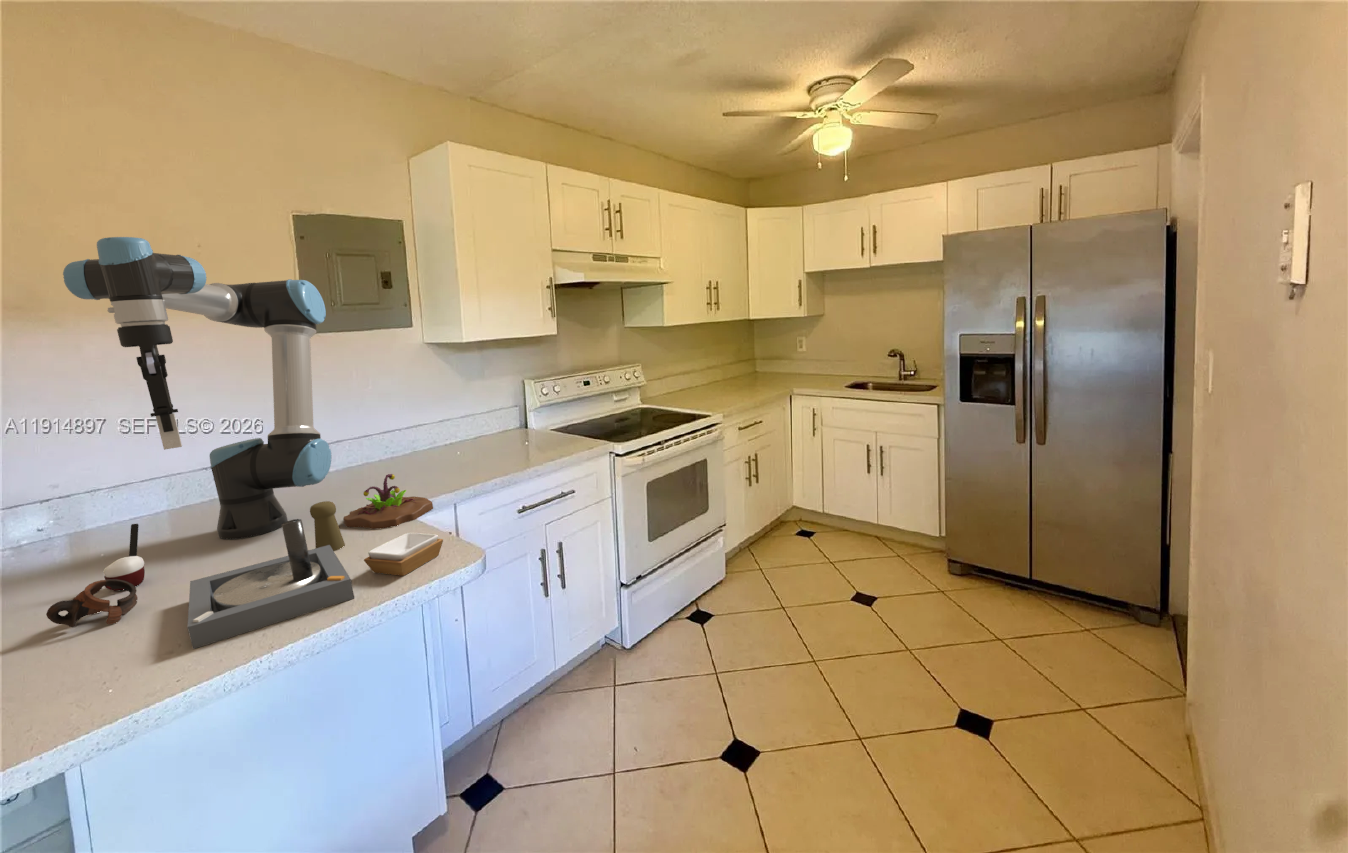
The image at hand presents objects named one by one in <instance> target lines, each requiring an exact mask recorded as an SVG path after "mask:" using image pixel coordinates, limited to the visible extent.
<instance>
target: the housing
mask: <svg viewBox="0 0 1348 853" xmlns="http://www.w3.org/2000/svg"><path fill="white" fill-rule="evenodd" d="M308 553H309V558H310V562H314V563H317V564H318V565H319V566H320V570H321V574H322V579H321V581H320V582H319V583H315V584H312V585H308V586H305V587H301V588H298V589H294V590H291V591H288V592H284V593H281V594H277V595H274V596H270V597H267V598H264V599H260V600H257V601H253V602H250V603H246V604H243V605H240V606H236V607H233V608H229V609H226V610H222V611H221V610H218V609H217V608H216V605H215V600H214V596H213V595H214V592H215V591H216V589H218V588H219V587H220V586H221V585H223V584H224V583H226V582H228V581H229V580H231V579H233V578H236V577H238V576H240V575H243V574H245V573H248V572H250V571H254V570H257V569H260V568H263V567H267V566H271V565H276V564H281V563H287V562H290V561H289V556H288V555H285V556H281V557H278V558H274V559H269V560H267V561H263V562H257V563H255V564H251V565H248V566H243V567H239V568H236V569H232V570H228V571H225V572H221V573H220V572H219V573H217V574H213V575H210V576H206V577H201V578H197V579H194V580H190V582H189V593H188V594H189V596H188V613H187V631H188V636H189V638H190V643H191V646H192V649H193V650H194V649H197V648H201V647H204V646H207V645H210V644H211V645H212V644H213V643H216V642H220V641H223V640H226V639H230V638H232V637H236V636H239V635H242V634H245V633H248V632H251V631H255V630H258V629H261V628H264V627H268V626H271V625H274V624H276V623H280V622H283V621H287V620H289V619H290V620H291V619H293V618H296V617H299V616H304V615H306V614H309V613H313V612H315V610H316V611H318V610H321V609H324V608H328V607H331V606H334V605H337V604H341V603H343V602H347V601H350V600H353V599H355V595H354V589H353V584H352V583H353V582H352V580H351V579H352V578H351V577H350V575H349V573H348V572H347V571H346V569H345V568H344V566H343V564H342V562H341V561H340V560H339V558H338V556H337V555H336V553H335V551H333V549H332V548H331V546H330V545H327V546H323V547H319V548H316V547H315V548H312V549H308Z"/></svg>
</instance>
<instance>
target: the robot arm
mask: <svg viewBox="0 0 1348 853" xmlns="http://www.w3.org/2000/svg"><path fill="white" fill-rule="evenodd" d="M96 250H97V254H98V255H97V256H98V258H97V259H96V258H95V259H89V258H87V259H83V260H77V261H71V262H69V263H68V264H66V265H65V267H64V269H63V272H62V275H63V282H64V284H65V287H66V288H67V290H68V291H69V292H70V293H71V294H72V295H73V296H75V297H77V298H79V299H81V300H96V301H100V300H105V299H106V300H109V301H110V305H111V306H112V307H111V306H109V307H107V312H108V313H110V314H113V318H114V322H115V323H116V324H117V325H120V326H119V327H118V328H117V329H116V332H117V336H118V338H119V343H120V346H121V347H123V348H133V347H135V348H136V347H137V348H139V351H140V356H136V358H135V359H136V362H137V365H138V367H140V371H141V375H142V379H143V380H145V382H146V385H147V389H148V393H149V396H150V401H151V403H152V404H151V405H152V408H153V409H152V413H151V412H150V417H155V418H156V424H157V427H158V431H159V435H160V440H161V443H162V447H163V450H170V449H177V448H182V446H183V444H182V440H181V436H180V435H181V434H180V431H179V428H178V424H177V419H176V416H175V413H179V410H178V408H174V405H173V402H172V400H171V399H172V398H171V396H170V390H169V386H168V381H167V378H168V376H169V375H168V371H167V367H166V363H167V359H166V355H165V354H160V352H159V348H158V345H159V346H162V345H171V344H173V343H174V340H173V335H172V331H171V327H170V325H168V324H166V322H167V321H169V317H168V312H167V310H173V311H179V312H185V313H190V314H196V315H201V316H204V317H205V318H206V319H208V320H210V321H213V322H216V323H217V322H218V323H221V324H222V323H223V324H229V325H234V326H239V327H240V326H241V327H245V328H246V327H247V328H256V329H257V328H259V329H260V328H261V329H262V328H263V329H264V332H265V333H266V334H267V335H269V336H270V337H271V360H272V363H271V364H272V366H271V367H272V385H273V386H272V391H273V392H272V393H273V422H274V423H273V424H274V425H273V426H274V428H273V430H272V431H270V432H269V433H268V434H267V443H265V441H263V438H261V437H258V438H251V439H245V440H241V441H237V442H233V443H229V444H226V445H223V446H220V447H216V448H214V449H212V450H211V452H209V462H210V467H209V468H210V469H211V473H212V476H213V480H214V483H215V489H216V493H217V498H218V501H219V506H220V507H219V508H220V509H219V515H218V519H217V520H218V521H217V527H216V531H217V535H218V538H220V539H221V540H239V539H245V538H251V537H254V536H261V535H263V534H266V533H270V532H273V531H276V530H279V529H280V528H282V523H284V522H287V521H289V519H288V516H287V512H286V511H285V509H284V507H283V506H282V505H281V504H280V501H278V499H277V497H276V496H275V493H274V489H281V488H282V489H283V488H292V487H293V488H294V487H295V488H297V487H298V488H303V487H307V486H313V485H317V484H319V483H321V482H322V481H323V480H324V479H325V478H326V476H327V475H328V473H329V471H330V469H331V464H332V450H331V448H330V445H329V443H328V442H327V440H325V439H322V438H321V437H322V436H321V433H320V432H319V431H318V430H317V429H315V427H314V405H313V378H312V377H313V375H312V356H311V355H312V352H311V350H312V349H311V348H312V347H311V339H312V338H313V337H314V336H315V335H316V334H317V325H320V324H322V323H323V322H324V321H325V319H326V317H327V316H326V313H327V312H326V311H327V310H326V306H325V302H324V299H323V296H322V295H321V294H320V292H319V290H318V289H317V287H316V286H315V285H314V284H312V283H311V282H310V281H308V280H307V279H306V280H304V279H285V280H274V281H273V280H272V281H259V282H247V283H245V282H244V283H240V284H239V283H237V284H225V283H223V282H222V283H220V282H212V283H207V273H206V270H205V268H204V267H203V265H202V263H200V262H199V261H198V260H197V259H194V258H192V257H190V256H184V255H181V254H166V253H159V252H158V253H155V252H154V251H153V249H152V247H151V244H150V242H149V241H148V240H147V239H145V238H143V237H134V236H133V237H132V236H111V237H103V238H101V239H98V240H97V242H96Z"/></svg>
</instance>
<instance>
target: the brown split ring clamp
mask: <svg viewBox="0 0 1348 853" xmlns="http://www.w3.org/2000/svg"><path fill="white" fill-rule="evenodd" d="M105 586H109V587H110V588H111V589H112V590H111V591H114V589H123V588H125V589H126V590H125V591H128V595H127V596H126V597H121V598H119V599H117V600H116V604H117V605H114V604H113V605H111V601H110V600H109V599H103V598H99V597H96V596H95V594H97V593H99V592H100V591H101V590H102V589H103V587H105ZM137 603H138V595H137V587H135V586H134V585H133V584H131V583H129V582H127V581H124V580H118V579H106V580H105V579H101V580H96V581H94V582H91V583H89V584H88V585H87V586H86V587H85V588H84V590H82V591H80V592H79V593H78V594H76V596H75V597H74V598H73V599H70V600H69V599H68V600H60V601H57V602H54V603H52V605H51V606H50V607H49V608H48V610H47V611H46V614H45V615H46V618H47V619H49V621H50V622H52V623H54V624H57V625H66V626H68V627H69V628H75V627H77V622H78V621H79V620H81V619H82V618H84V617H86V616H90V615H91V616H92V615H95V614H94V613H97V612H100V611H101V612H102V613H104V612H105V613H107V619H106V621H105V623H106V624H107V625H114V624H113V623H115V624H117V623H116V622H120V620H121V619H122V616H126V615H127V614H128V613H129V612H130V611H131V610H132V609H134V608H135V606H136V605H137ZM64 611H65V612H67V613H66V614H65V615H61V614H60V613H61V612H64Z"/></svg>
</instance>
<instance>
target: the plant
mask: <svg viewBox="0 0 1348 853" xmlns="http://www.w3.org/2000/svg"><path fill="white" fill-rule="evenodd" d="M395 478H396V476H395V474H393V473H388V474H386V475H385V478H384V479H383V483H382V484H383V489H381V488H379V487H377V486H375V485H374V486H369V487H368V488H366V489H365V490H364V491H363V496H364V497H365V499H366V500H367V501H369V502H371V503H369V504H366V505H365V506H363V507H362V506H361V507H359V508H357V509H355V510H351V511H349V514H347V515H344V516H343V518H342V519H343V523H344V526H345V527H346V526H347V527H346V528H365V529H370V530H376V529H377V530H379V529H380V528H381V529H387V527H388V528H392V527H391V526H395V527H398V526H399V525H401V524H404V523H407V522H408V523H409V522H412V521H415V520H417V519H419V518H420V517H422V516H423V515H425V514H427V513H429V512H430V511H432V510H433V509H434V504H433V501H431V500H430V499H428V498H427V497H420V496H404V495H405V493H406V492H407V489H404V490H402V491H400V487H398V486H396V485H392V486H389V487H388V479H389V480H394V479H395ZM370 490H375V491H376V492H377V494H373V497H374V498H373V497H368V496H369V494H370ZM396 494H397V495H396ZM397 525H398V526H397Z"/></svg>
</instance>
